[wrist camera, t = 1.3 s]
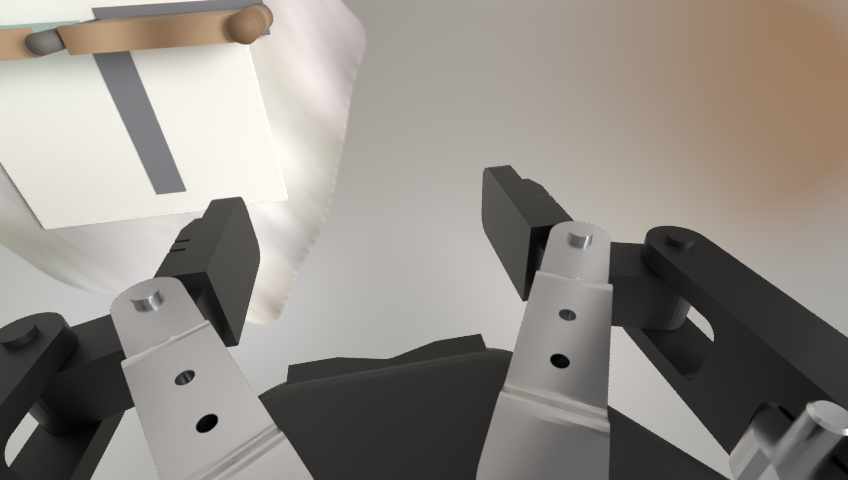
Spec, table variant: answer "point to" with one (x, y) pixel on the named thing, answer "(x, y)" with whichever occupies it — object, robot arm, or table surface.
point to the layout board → (133, 121)
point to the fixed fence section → (154, 31)
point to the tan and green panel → (22, 38)
